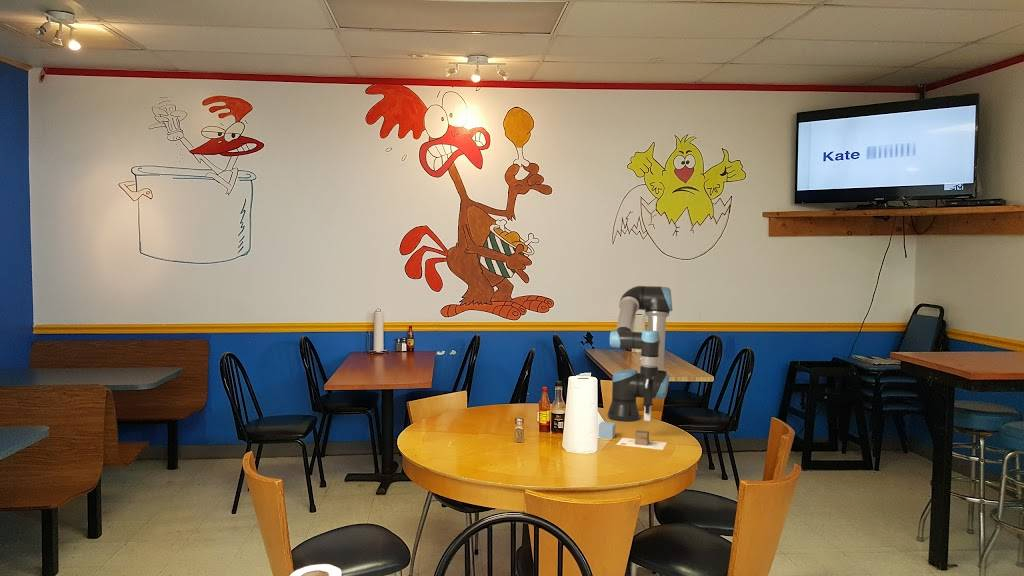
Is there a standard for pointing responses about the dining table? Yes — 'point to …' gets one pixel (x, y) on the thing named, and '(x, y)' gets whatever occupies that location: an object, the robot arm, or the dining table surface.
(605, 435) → the blue cube
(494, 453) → the dining table surface
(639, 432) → the walnut block
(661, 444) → the letter mat
